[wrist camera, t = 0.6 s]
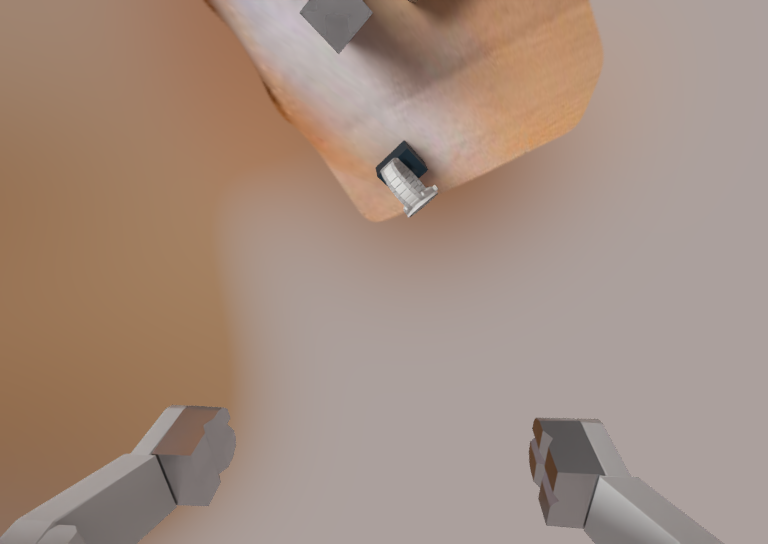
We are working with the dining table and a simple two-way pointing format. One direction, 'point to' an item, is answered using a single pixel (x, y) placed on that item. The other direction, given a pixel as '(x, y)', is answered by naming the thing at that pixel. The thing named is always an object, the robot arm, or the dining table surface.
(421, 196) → the watch
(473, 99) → the dining table surface
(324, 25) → the grey brushed metal pillar
